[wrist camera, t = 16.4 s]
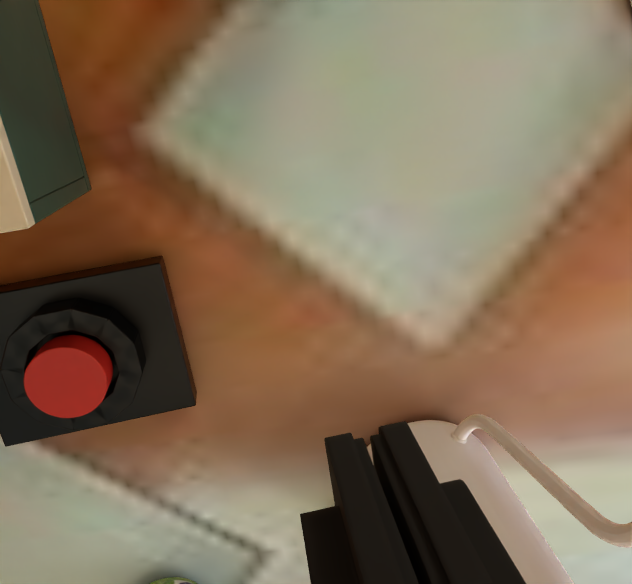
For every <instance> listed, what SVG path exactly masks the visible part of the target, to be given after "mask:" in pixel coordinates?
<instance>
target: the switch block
mask: <svg viewBox="0 0 632 584" xmlns="http://www.w3.org/2000/svg"><path fill="white" fill-rule="evenodd" d="M63 335H80V336H84V337H87V338H90V339H92V340H94V341H96V342H97V343H99V344H100V345H101V346H102V347H103V348H104V349H105V350H106V351H107V353H108V354H109V356H110V358H111V361H112V365H113V376H112V380H111V382H110V385H109V387H108V390H107V393H106V395H105V397H104V399H103V401H102V402H101V403H100V405H99V406H98V407H97V408H95V409H94V410H93V411H91V412H89V413H88V414H85V415H83V416H79V417H74V418H60V417H55V416H52V415H49V414H47V413H45V412H43V411H41V410H40V409H38V408H37V407H36V406H35V405H34V404H33V403H32V402H31V401H30V399H29V398H28V396H27V394H26V391H25V388H24V374H25V370H26V368H27V366H28V364H29V363H30V361H31V360H32V359H33V357H34V356H35V355H36V353H37V352H38V351H39V349H40V348H41V347H42V346H43V345H44V344H45V343H47V342H48V341H50V340H51V339H53V338H56V337H59V336H63ZM196 394H197V391H196V387H195V383H194V379H193V375H192V371H191V367H190V363H189V359H188V355H187V351H186V347H185V343H184V339H183V335H182V331H181V327H180V323H179V319H178V315H177V311H176V307H175V303H174V299H173V295H172V291H171V287H170V283H169V279H168V275H167V271H166V267H165V263H164V259H163V257H162V256H159V257H153V258H148V259H142V260H137V261H132V262H126V263H121V264H115V265H110V266H104V267H99V268H94V269H88V270H83V271H77V272H72V273H67V274H61V275H56V276H50V277H45V278H39V279H34V280H29V281H23V282H18V283H12V284H7V285H2V286H0V434H1V437H2V439H3V442H4V444H5V446H11V445H15V444H20V443H25V442H29V441H34V440H39V439H43V438H48V437H52V436H57V435H62V434H66V433H71V432H76V431H80V430H85V429H89V428H94V427H99V426H103V425H108V424H112V423H117V422H122V421H126V420H131V419H136V418H140V417H145V416H149V415H154V414H159V413H163V412H168V411H173V410H177V409H182V408H186V407H191V406H195V405H196Z"/></svg>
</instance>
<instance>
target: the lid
mask: <svg viewBox="0 0 632 584" xmlns="http://www.w3.org/2000/svg"><path fill="white" fill-rule="evenodd" d="M34 224H35V221H34V218H33V215H32V212H31V209H30V206H29V203H28V200H27V196H26V193H25V190H24V187H23V184H22V181H21V178H20V175H19V172H18V169H17V166H16V162H15V159H14V156H13V153H12V150H11V147H10V144H9V141H8V138H7V135H6V132H5V128H4V125H3V122H2V119H1V116H0V233H5V232H11V231H17V230H23V229H28V228H30V227H31V226H33V225H34Z"/></svg>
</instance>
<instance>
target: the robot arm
mask: <svg viewBox="0 0 632 584" xmlns="http://www.w3.org/2000/svg"><path fill="white" fill-rule="evenodd" d="M630 3H631V7H632V0H630ZM370 441H371V449H372V457H373V463H372V460H371V457H370V455H369V452H368V449H367V447H366V444H365V442H364V439H363V438H358V439H353V436H352V434H351V433H346V434H341V435H337V436H332V437H327V438H325V447H326V453H327V459H328V465H329V471H330V477H331V483H332V489H333V495H334V501H335V506H334V507H330V508H325V509H321V510H316V511H311V512H307V513H302V514H300V517H301V523H302V530H303V536H304V542H305V549H306V555H307V561H308V567H309V574H310V580H311V584H526V582H525V581H524V579H523V577H522V576H521V574H520V572H519V571H518V569H517V567H516V566H515V564H514V562H513V561H512V559H511V558H510V556H509V554H508V553H507V551H506V549H505V548H504V546H503V544H502V543H501V541H500V539H499V538H498V536H497V534H496V533H495V531H494V529H493V528H492V526H491V525H490V523H489V521H488V520H487V518H486V516H485V515H484V513H483V511H482V510H481V508H480V506H479V505H478V503H477V501H476V500H475V498H474V496H473V495H472V493H471V492H470V490H469V488H468V487H467V485H466V484H465V482H464V481H463V480H461V479H458V480H453V481H448V482H444V483H439V481H438V479H437V477H436V476H435V474H434V472H433V470H432V468H431V466H430V464H429V463H428V461H427V459H426V457H425V455H424V453H423V451H422V450H421V448H420V446H419V444H418V442H417V440H416V438H415V437H414V435H413V433H412V431H411V429H410V427H409V425H408V424H407V422H405V421H404V422H399V423H394V424H389V425H385V426H380V427H379V434H377V435H373V436H371V437H370ZM373 464H374V465H373Z"/></svg>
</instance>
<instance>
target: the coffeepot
mask: <svg viewBox="0 0 632 584" xmlns="http://www.w3.org/2000/svg"><path fill="white" fill-rule="evenodd" d="M407 424H408V425H409V427H410V429H411V431H412V433H413V435H414V437H415V438H416V440H417V442H418V444H419V446H420V448H421V450H422V451H423V453H424V455H425V457H426V459H427V461H428V463H429V464H430V466H431V468H432V470H433V472H434V474H435V476H436V477H437V479H438V481H439V483H444V482H448V481H453V480H458V479H461V480H463V481H464V482H465V484H466V485H467V487H468V488H469V490H470V492H471V493H472V495H473V496H474V498H475V500H476V501H477V503H478V505H479V506H480V508H481V510H482V511H483V513H484V515H485V516H486V518H487V520H488V521H489V523H490V525H491V526H492V528H493V529H494V531H495V533H496V534H497V536H498V538H499V539H500V541H501V543H502V544H503V546H504V548H505V549H506V551H507V553H508V554H509V556H510V558H511V559H512V561H513V562H514V564H515V566H516V567H517V569H518V571H519V572H520V574H521V576H522V577H523V579H524V581H525V582H526V584H574V582H573V581H572V579H571V578H570V576H569V575H568V573H567V572H566V570H565V568H564V567H563V565H562V564H561V562H560V561H559V559H558V558H557V556H556V555H555V553H554V552H553V550H552V548H551V547H550V545H549V544H548V542H547V541H546V539H545V538H544V536H543V535H542V533H541V532H540V530H539V528H538V527H537V525H536V524H535V522H534V521H533V519H532V518H531V516H530V515H529V513H528V512H527V510H526V508H525V507H524V505H523V504H522V502H521V501H520V499H519V498H518V496H517V495H516V493H515V491H514V490H513V488H512V487H511V485H510V484H509V482H508V481H507V479H506V478H505V476H504V475H503V473H502V471H501V470H500V468H499V467H498V465H497V464H496V462H495V461H494V459H493V458H492V456H491V455H490V453H489V451H488V450H487V448H486V447H485V446H484V444H483V443H482V442H481V441H480V440H479V439H478V438H477V437H476V436H475V435H473V434H472V433H471V432H472V431H473V430H474V429H477V428H479V429H482V430H484V431H485V432H487V433H488V434H489V435H490V436H491V437H492V438H493V439H494V440H495V441H497V442H498V443H499V444H500V445H501V446H502V447H503V448H504V449H505V450H506V451H507V452H508V453H509V454H510V455H511V456H512V457H513V458H514V459H515V460H516V461H517V462H518V463H519V464H520V465H521V466H522V467H524V468H525V469H526V470H527V471H528V472H529V473H530V474H531V475H532V476H533V477H534V478H535V479H536V480H537V481H538V482H539V483H540V484H541V485H542V486H543V487H544V488H545V489H546V490H547V491H548V492H549V493H550V494H551V495H552V496H553V497H554V498H556V499H557V500H558V501H559V502H560V503H561V504H562V505H563V506H564V507H565V508H566V509H567V510H568V511H569V512H570V513H571V514H572V515H573V516H574V517H575V518H576V519H577V520H579V521H580V522H581V523H582V524H583V525H584V526H585V527H586V528H587V529H588V530H589V531H590V532H592V533H593V534H594V535H596V536H597V537H599V538H600V539H602V540H604V541H606V542H608V543H610V544H613V545H616V546H618V547H627V548H629V547H632V522H630V523H628V524H617V523H614V522H611V521H610V520H608V519H606V518H605V517H603V516H602V515H601V514H600V513H599V512H598V511H596V510H595V509H594V508H593V507H592V506H591V505H589V504H588V503H587V502H586V501H585V500H584V499H582V498H581V497H580V496H579V495H578V494H577V493H576V492H575V491H574V490H572V489H571V488H570V487H569V486H568V485H567V484H566V483H565V482H564V481H563V480H561V479H560V478H559V477H558V476H557V475H556V474H555V473H554V472H553V471H551V470H550V469H549V468H548V467H547V466H546V465H545V464H544V463H543V462H541V461H540V460H539V459H538V458H537V457H536V456H535V455H534V454H533V453H531V452H530V451H529V450H528V449H527V448H526V447H525V446H524V445H522V444H521V443H520V442H519V441H518V440H517V439H516V438H515V437H514V436H512V435H511V434H510V433H509V432H508V431H507V430H506V429H504V428H503V427H502V426H501V425H500V424H498V423H497V422H496V421H495V420H493V419H491V418H490V417H487V416H485V415H481V414H473V415H470V416H468V417H466V418H465V419H464V420H462V422H461V423H460V424H459V425H455V424H452V423H449V422H445V421H438V420H422V421H416V422H411V423H407ZM367 449H368V452H369V455H370V457H371V460H372V463H373V457H372V449H371V444H370V445H369V446H368V447H367ZM373 465H374V464H373Z"/></svg>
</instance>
